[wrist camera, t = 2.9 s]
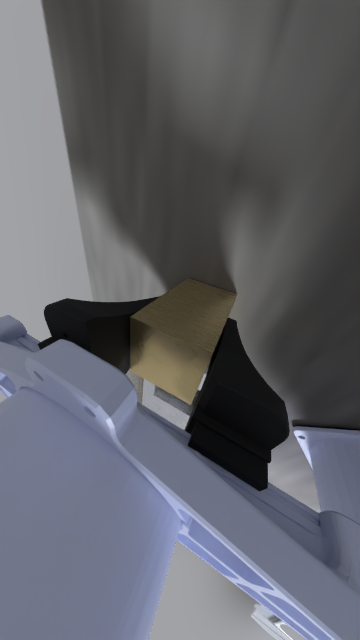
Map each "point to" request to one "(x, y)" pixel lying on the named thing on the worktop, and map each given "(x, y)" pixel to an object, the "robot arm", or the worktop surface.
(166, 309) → the brass peg
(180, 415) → the silver plate with holes
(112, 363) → the robot arm
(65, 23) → the worktop surface
